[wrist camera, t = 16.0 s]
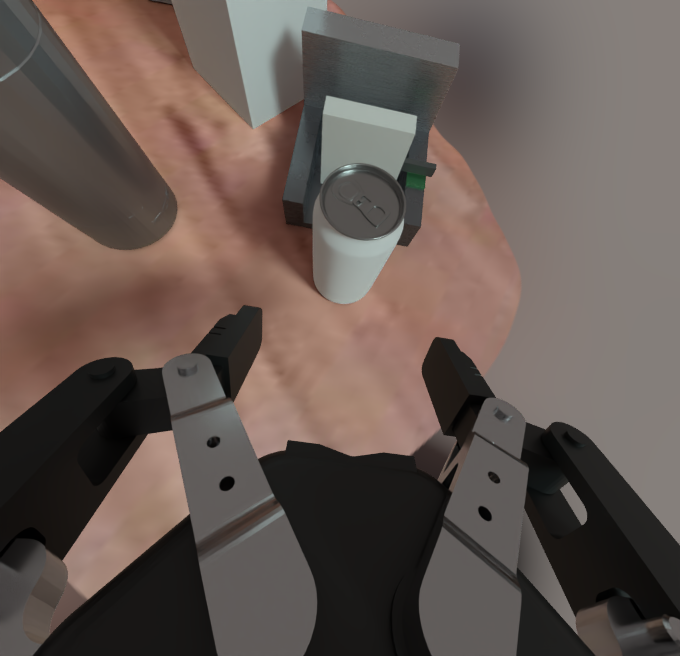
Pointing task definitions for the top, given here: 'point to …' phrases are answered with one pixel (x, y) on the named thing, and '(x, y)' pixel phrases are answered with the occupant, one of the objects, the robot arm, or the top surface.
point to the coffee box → (164, 1)
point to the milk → (248, 51)
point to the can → (355, 230)
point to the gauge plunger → (368, 138)
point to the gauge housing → (366, 98)
